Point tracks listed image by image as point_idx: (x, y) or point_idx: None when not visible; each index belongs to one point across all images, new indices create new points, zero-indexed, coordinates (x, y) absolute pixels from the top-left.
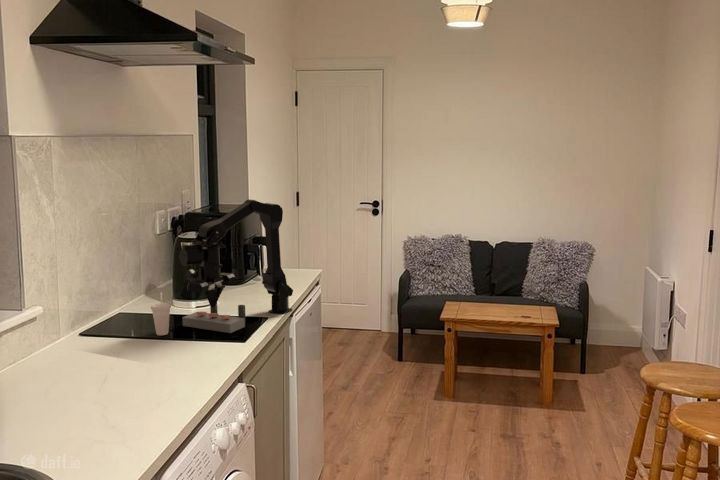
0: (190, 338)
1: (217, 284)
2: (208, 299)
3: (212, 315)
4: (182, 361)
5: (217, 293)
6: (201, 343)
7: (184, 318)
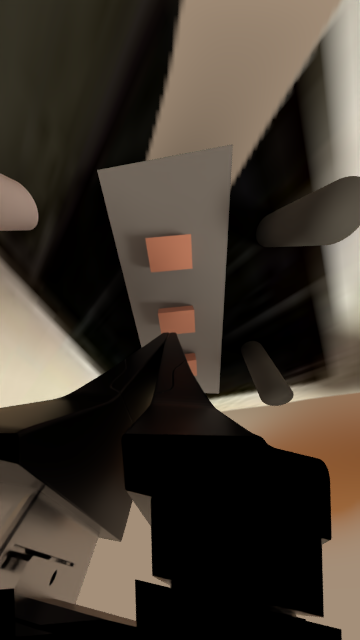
0: (71, 322)
1: (192, 614)
2: (132, 359)
3: (161, 329)
4: (11, 385)
5: (166, 444)
6: (74, 361)
7: (104, 191)
